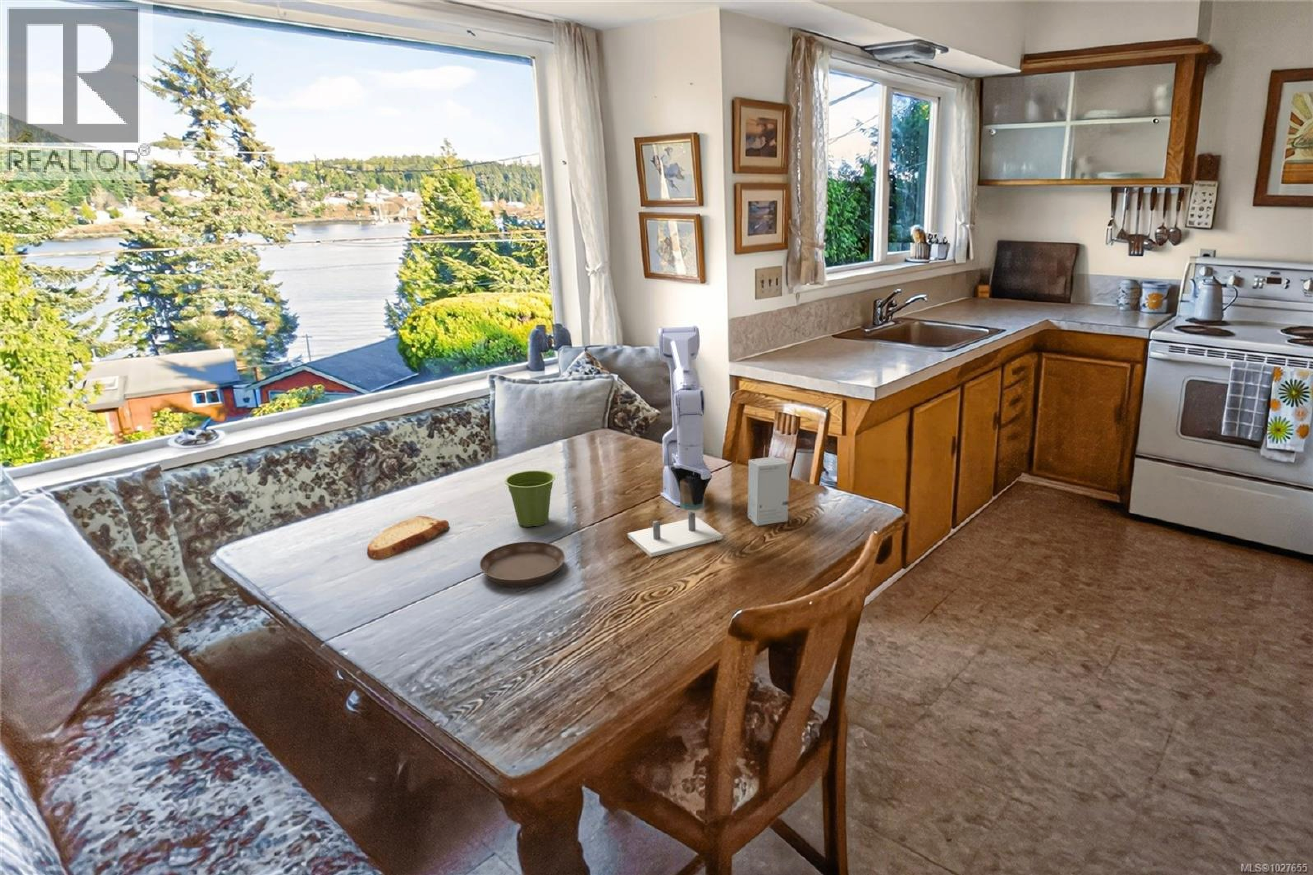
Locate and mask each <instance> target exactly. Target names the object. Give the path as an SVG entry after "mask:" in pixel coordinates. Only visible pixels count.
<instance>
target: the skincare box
mask: <svg viewBox="0 0 1313 875" xmlns="http://www.w3.org/2000/svg"><path fill="white" fill-rule="evenodd" d="M747 465H748V472H747V474H748V476H747V477H748V478H747V480H748V482H747V518H748V519H750V521H751V522H752V523H753V524H754V525H756V526H757V527H759V526H765V525H766V526H767V525H772V524H777V523H785V522H788V519H789V496H790V495H789V493H790V492H789V491H790V490H789V489H790V462H789V461H788V460H785V458H782V457H781V456H771V457H770V456H769V457H761V458H754V459H753V458H751V459H748V464H747Z"/></svg>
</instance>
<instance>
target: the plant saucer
mask: <svg viewBox="0 0 1313 875" xmlns="http://www.w3.org/2000/svg"><path fill="white" fill-rule="evenodd" d="M565 560H566V555H565V552H564V551H563V550H562V549H561V548H560V547H559V546H557V545H555V544H552V543H548V542H542V541H532V540H531V541H518V542H512V543H507V544H504V545H500V546H497V547H496V548H493V549H491V550H489V551H488V552H487V553H486V554H485V555H483V556H482V557H481V559H480V561H479V568H480V570H481V572H482V573H483V574H485V576H486V577H487V578H488V579H490V580H491V581H492V582H494V583H495V584H498V585H499V586H500V585H501V586H505V587H515V588H517V587H518V588H519V587H528V586H533V585H536V584H537V585H538V584H540V583H543V582H545V581H548V580H549V579H551V578H552V577H553V576H554V575H555V574H557V572H558V571H559V570H560V568H561V567H562V566H563V563H564V562H565Z"/></svg>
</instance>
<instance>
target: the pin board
mask: <svg viewBox="0 0 1313 875" xmlns="http://www.w3.org/2000/svg"><path fill="white" fill-rule="evenodd" d="M687 514H688V515H687V518H686V519H682V520H678V521H673V522H670V523H665V524H662V525H661V521H660V520H654V521H652V527H648V528H644V529H643V528H642V529H639V530H635V531H631V532H627V538H628V539H630V540H631V541H632V543H634V544H635V545H637V546H638V547H639V548H640V549H641V550H642V551H643V552H644V553H646V554H647V555H648V556H649V557H650V558H653V557H657V556H661V555H664V554H670V553H673V552H677V551H681V550H685V549H689V548H692V547H697V546H701V545H704V544H709V543H713V542H717V541H720V540H723V536H724V535H723V534H722V533H720V532H719V531H718V530H716V529H715V528H713V527H712V526H710V525H709V524H707V523H706V522H704V520H702V519H700V518H699V517H697V516H696V512H691V511H690V512H688V513H687ZM716 540H717V541H716Z"/></svg>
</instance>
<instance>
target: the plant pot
mask: <svg viewBox="0 0 1313 875" xmlns="http://www.w3.org/2000/svg"><path fill="white" fill-rule="evenodd" d="M555 479H556V476H555V474H553V473H552V472H550V471H546V470H537V469H536V470H525V471H519V472H515V473H513V474H511V475H508V476H507V477H506V478H505V479H504V483H505V484H506V486H507V488H508V491H509V493H510V496H511V501H512V502H513V507H514V512H515V517H516V519H517V523H518V524H519V525H520V526H522V527H525V528H526V527H527V528H531V527H534V526H535V527H540V526H543V525H545V524H547V523H548V521H549V515H550V514H549V513H550V505H551V497H552V496H551V495H552V490H553V484H554V481H555Z"/></svg>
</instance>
